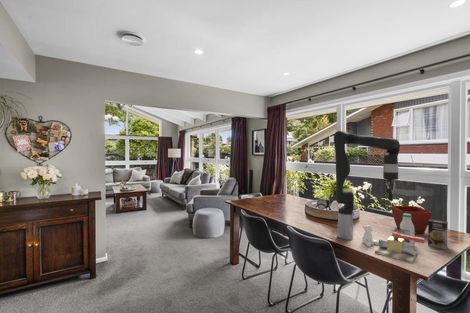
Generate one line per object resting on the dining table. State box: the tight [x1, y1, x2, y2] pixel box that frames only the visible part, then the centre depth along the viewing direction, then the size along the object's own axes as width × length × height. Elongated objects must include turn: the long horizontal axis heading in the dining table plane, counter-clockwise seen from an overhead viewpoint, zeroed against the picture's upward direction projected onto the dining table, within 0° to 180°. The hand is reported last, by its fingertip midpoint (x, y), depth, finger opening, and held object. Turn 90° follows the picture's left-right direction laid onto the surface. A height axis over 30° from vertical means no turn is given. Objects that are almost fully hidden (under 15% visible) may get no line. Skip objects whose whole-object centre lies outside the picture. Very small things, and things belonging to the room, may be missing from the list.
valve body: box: [377, 236, 416, 256], centre depth 136 cm, size 17×7×7 cm, turn 44°
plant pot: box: [390, 205, 432, 234], centre depth 176 cm, size 19×19×17 cm
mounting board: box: [374, 246, 419, 264], centre depth 136 cm, size 18×16×2 cm
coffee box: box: [427, 218, 449, 250], centre depth 146 cm, size 9×6×16 cm
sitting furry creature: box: [362, 224, 379, 247], centre depth 151 cm, size 10×9×12 cm
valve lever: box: [391, 231, 426, 244], centre depth 132 cm, size 15×4×3 cm, turn 43°
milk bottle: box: [399, 213, 416, 248], centre depth 148 cm, size 8×8×20 cm
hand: (390, 199), depth 139 cm, fingers closed
